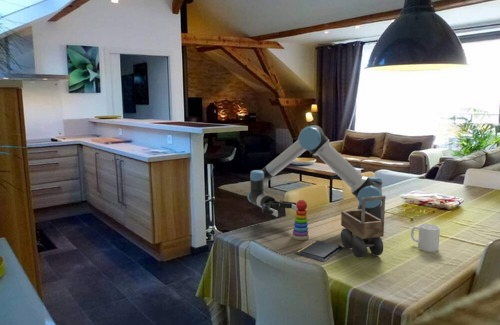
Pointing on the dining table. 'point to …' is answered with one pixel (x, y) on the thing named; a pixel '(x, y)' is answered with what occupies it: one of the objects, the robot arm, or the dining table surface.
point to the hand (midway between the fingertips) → (288, 211)
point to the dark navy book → (319, 250)
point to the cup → (427, 237)
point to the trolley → (363, 229)
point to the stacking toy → (300, 222)
